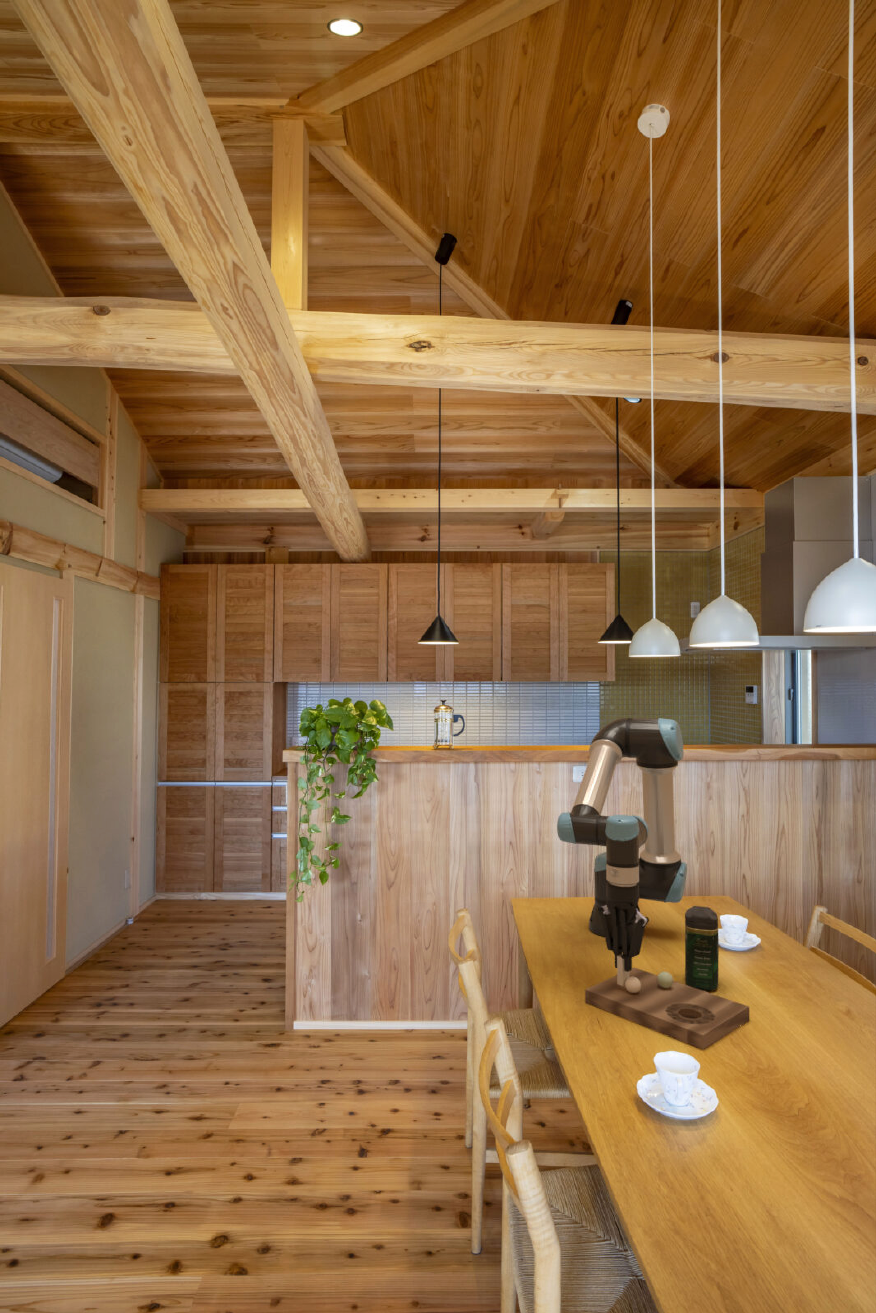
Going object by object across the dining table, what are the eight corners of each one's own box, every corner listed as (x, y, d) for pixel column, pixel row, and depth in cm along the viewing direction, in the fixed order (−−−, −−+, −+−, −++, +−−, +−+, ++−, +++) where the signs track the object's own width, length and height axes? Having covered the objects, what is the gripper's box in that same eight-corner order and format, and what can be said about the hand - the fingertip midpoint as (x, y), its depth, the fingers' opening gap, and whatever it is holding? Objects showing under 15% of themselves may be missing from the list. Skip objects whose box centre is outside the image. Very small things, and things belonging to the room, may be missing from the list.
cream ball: (620, 978, 175) (633, 979, 173) (629, 973, 178) (642, 975, 175) (623, 994, 175) (636, 996, 172) (632, 989, 177) (645, 991, 174)
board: (585, 1002, 176) (584, 989, 176) (634, 979, 190) (633, 967, 190) (703, 1049, 154) (703, 1035, 154) (749, 1020, 167) (749, 1006, 167)
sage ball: (654, 987, 178) (654, 971, 178) (662, 983, 180) (662, 968, 180) (667, 992, 175) (667, 976, 175) (676, 987, 177) (676, 972, 177)
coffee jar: (719, 994, 181) (718, 916, 181) (684, 989, 183) (684, 913, 184) (718, 978, 190) (717, 905, 190) (685, 974, 192) (684, 902, 193)
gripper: (590, 879, 180) (591, 979, 179) (636, 891, 170) (637, 996, 169) (609, 874, 185) (610, 971, 184) (655, 885, 175) (656, 987, 174)
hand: (623, 983), depth 177 cm, fingers closed
